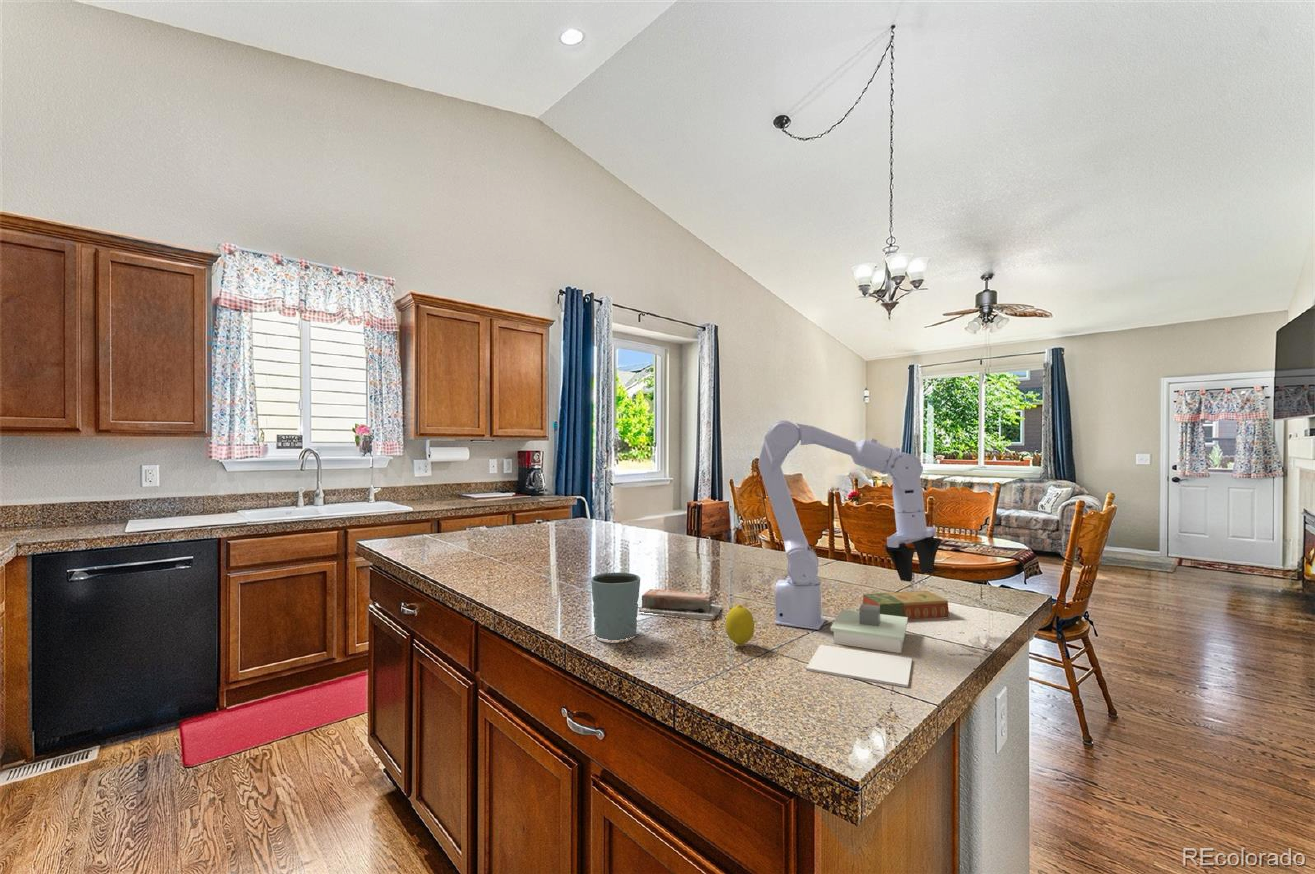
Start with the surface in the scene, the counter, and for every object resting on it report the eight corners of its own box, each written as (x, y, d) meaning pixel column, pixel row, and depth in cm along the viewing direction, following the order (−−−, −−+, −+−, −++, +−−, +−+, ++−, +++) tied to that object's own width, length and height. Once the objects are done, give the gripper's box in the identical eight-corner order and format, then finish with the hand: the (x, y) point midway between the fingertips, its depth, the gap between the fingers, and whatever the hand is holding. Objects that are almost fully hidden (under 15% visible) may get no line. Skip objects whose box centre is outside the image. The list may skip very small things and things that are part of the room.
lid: (830, 634, 107) (830, 612, 107) (841, 615, 119) (841, 595, 119) (903, 644, 101) (903, 621, 101) (907, 623, 113) (907, 602, 113)
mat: (806, 669, 95) (806, 667, 95) (820, 646, 106) (820, 644, 106) (907, 687, 88) (907, 684, 88) (912, 660, 98) (912, 658, 98)
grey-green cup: (581, 636, 114) (581, 578, 114) (617, 624, 121) (616, 569, 121) (615, 648, 107) (614, 586, 107) (651, 634, 114) (650, 576, 115)
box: (833, 643, 108) (833, 630, 108) (843, 624, 118) (843, 613, 118) (901, 653, 102) (900, 639, 102) (905, 632, 113) (905, 620, 113)
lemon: (756, 642, 109) (755, 601, 109) (752, 652, 104) (751, 609, 104) (729, 639, 111) (728, 599, 111) (723, 649, 105) (722, 607, 105)
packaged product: (636, 595, 128) (651, 584, 138) (637, 616, 128) (651, 604, 138) (712, 601, 122) (722, 589, 132) (712, 623, 122) (722, 610, 132)
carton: (949, 619, 122) (949, 599, 122) (879, 622, 121) (879, 603, 121) (927, 607, 130) (927, 589, 130) (862, 610, 129) (861, 592, 129)
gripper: (907, 516, 107) (914, 586, 106) (947, 506, 115) (954, 572, 114) (875, 515, 113) (882, 581, 112) (915, 506, 121) (922, 568, 120)
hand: (916, 576), depth 114 cm, fingers open, 7 cm apart
